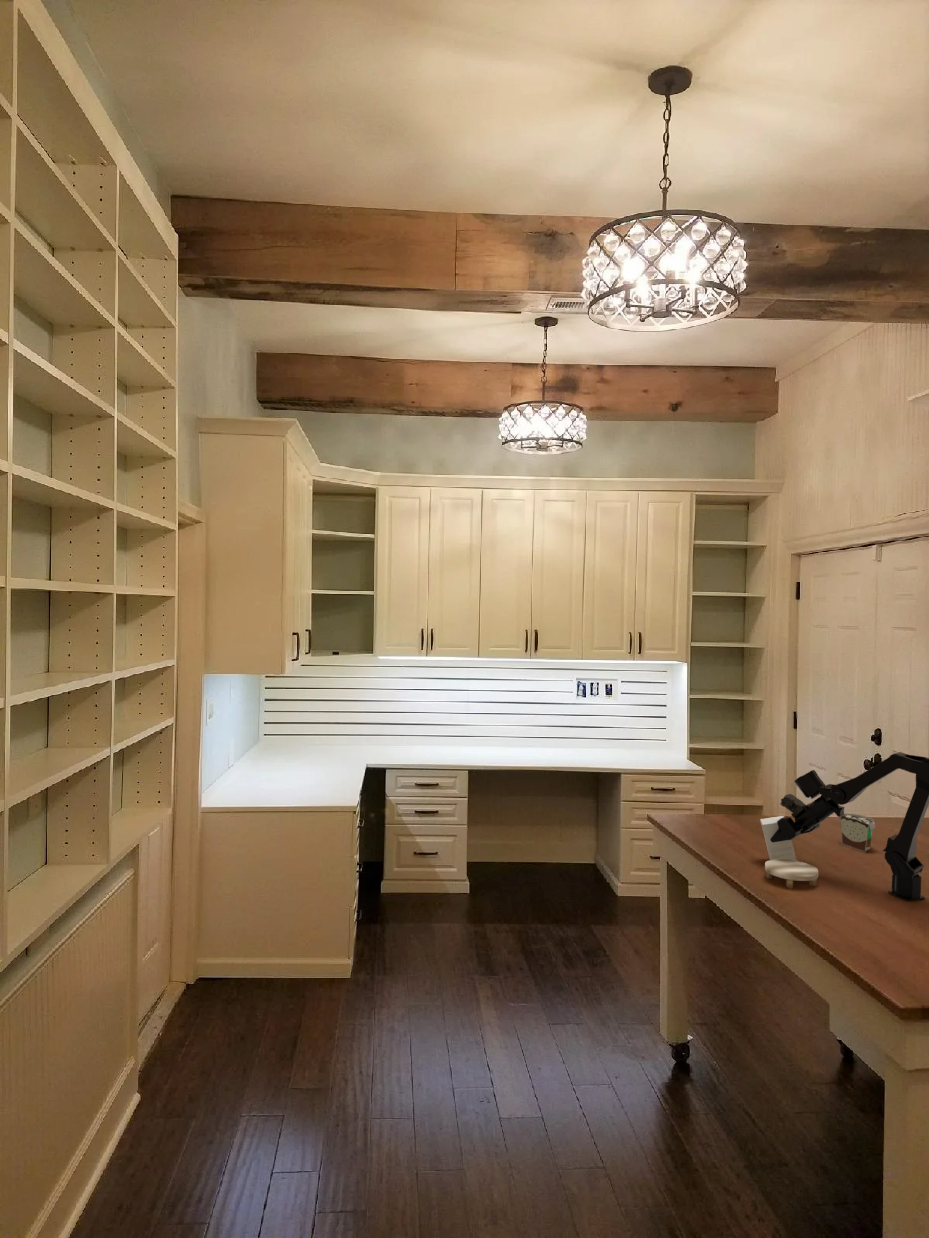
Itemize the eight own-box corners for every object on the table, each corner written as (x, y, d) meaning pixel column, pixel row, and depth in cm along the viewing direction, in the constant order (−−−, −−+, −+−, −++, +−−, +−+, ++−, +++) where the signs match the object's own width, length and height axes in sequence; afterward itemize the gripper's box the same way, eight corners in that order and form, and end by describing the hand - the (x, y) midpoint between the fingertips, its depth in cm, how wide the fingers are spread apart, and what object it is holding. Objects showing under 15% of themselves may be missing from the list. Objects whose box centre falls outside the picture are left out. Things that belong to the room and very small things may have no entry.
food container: (883, 852, 255) (884, 821, 255) (869, 853, 253) (870, 822, 252) (851, 841, 266) (852, 811, 266) (838, 842, 264) (839, 813, 264)
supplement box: (794, 855, 242) (784, 814, 243) (797, 862, 235) (787, 820, 236) (769, 858, 244) (759, 818, 245) (771, 865, 237) (761, 824, 238)
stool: (829, 887, 220) (829, 873, 220) (788, 891, 215) (789, 877, 215) (792, 870, 233) (793, 857, 233) (754, 874, 228) (754, 861, 228)
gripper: (812, 783, 243) (774, 810, 251) (786, 791, 229) (747, 819, 238) (836, 815, 237) (797, 841, 245) (811, 825, 224) (771, 852, 232)
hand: (778, 838), depth 240 cm, fingers closed on supplement box, 9 cm apart
